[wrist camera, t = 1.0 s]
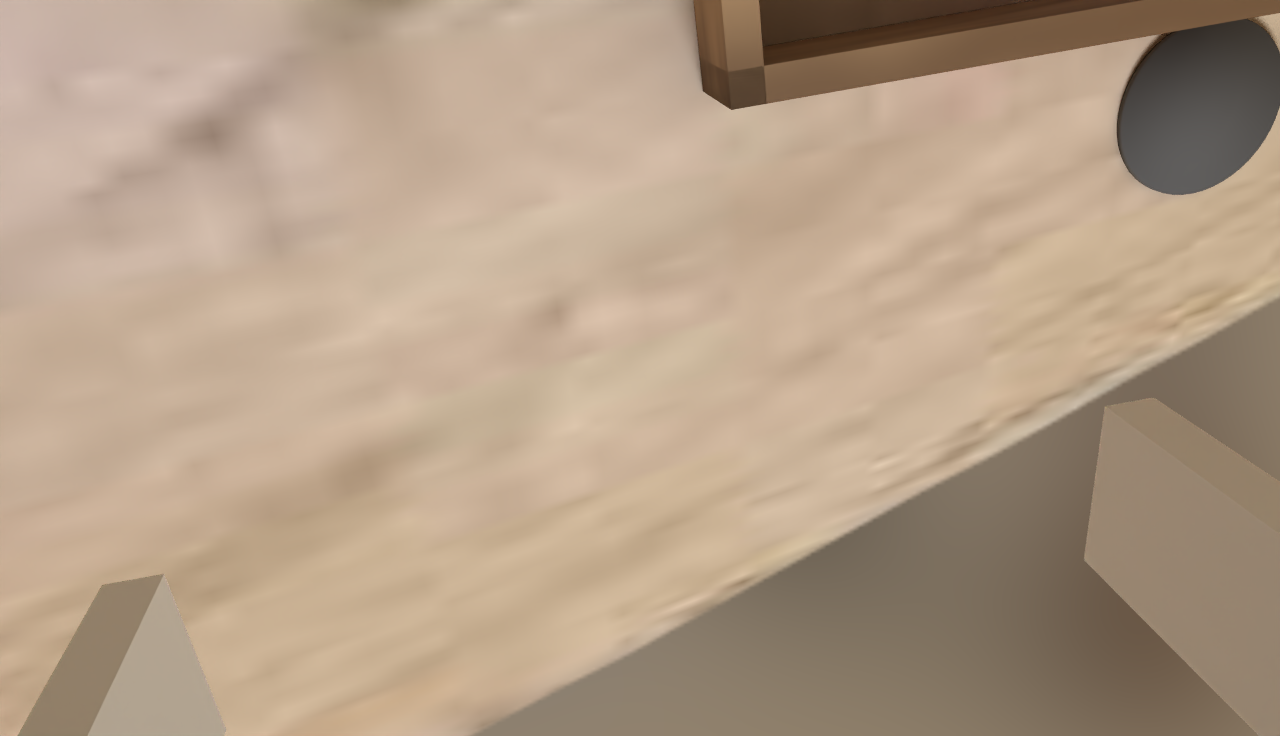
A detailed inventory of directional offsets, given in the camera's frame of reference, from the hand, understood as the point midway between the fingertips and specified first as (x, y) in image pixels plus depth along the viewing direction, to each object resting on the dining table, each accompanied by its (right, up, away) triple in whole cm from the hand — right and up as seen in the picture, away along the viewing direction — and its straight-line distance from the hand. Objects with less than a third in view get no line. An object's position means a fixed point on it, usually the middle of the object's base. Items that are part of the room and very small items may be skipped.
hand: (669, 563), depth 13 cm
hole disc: (+22, +13, +24) cm, 36 cm away
